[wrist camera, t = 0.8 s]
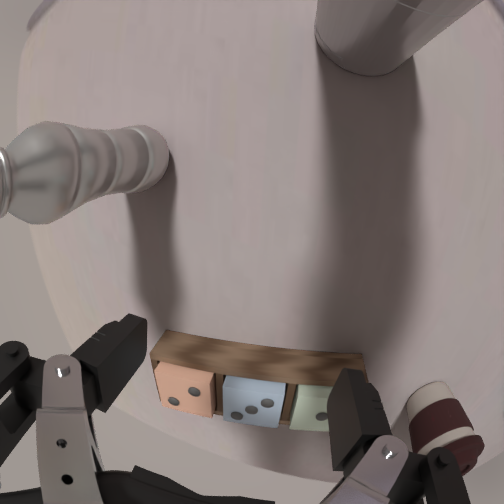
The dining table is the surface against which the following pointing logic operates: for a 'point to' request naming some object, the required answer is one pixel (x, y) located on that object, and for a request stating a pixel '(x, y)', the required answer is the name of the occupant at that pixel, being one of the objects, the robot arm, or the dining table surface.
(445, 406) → the coffee cup
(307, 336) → the dining table surface
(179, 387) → the button two
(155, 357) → the dice tray set
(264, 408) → the button three
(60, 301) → the dining table surface
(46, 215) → the plastic bottle
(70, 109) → the dining table surface
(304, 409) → the button one
